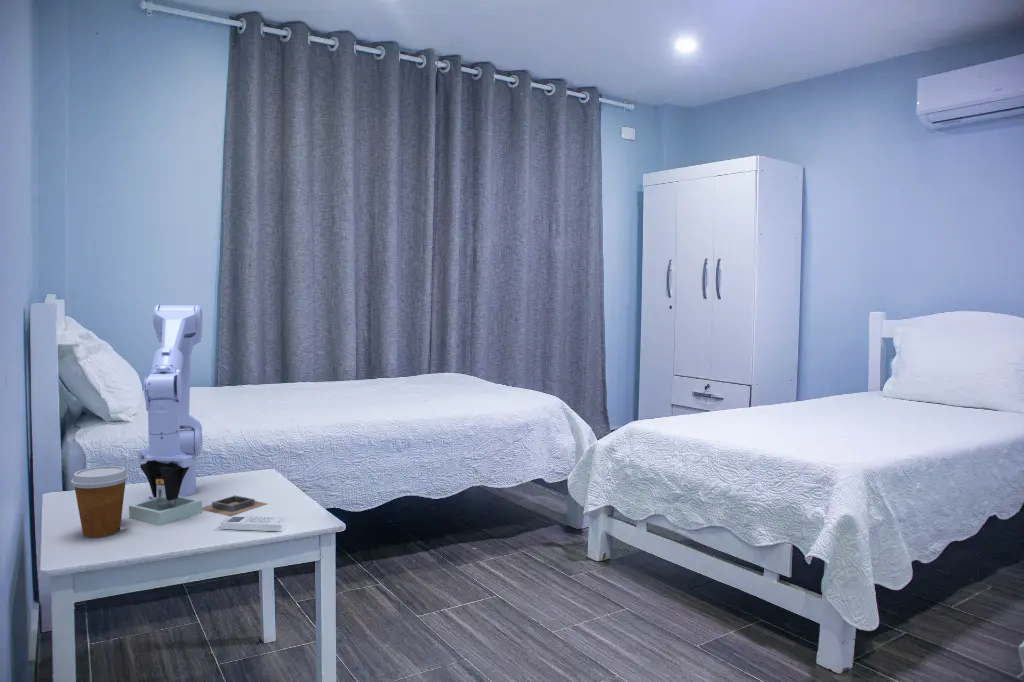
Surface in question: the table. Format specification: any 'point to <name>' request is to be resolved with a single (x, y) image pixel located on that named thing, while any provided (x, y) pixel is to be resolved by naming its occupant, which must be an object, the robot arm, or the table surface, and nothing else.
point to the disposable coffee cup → (100, 499)
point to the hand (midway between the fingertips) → (165, 497)
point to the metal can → (163, 495)
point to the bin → (165, 511)
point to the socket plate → (233, 505)
